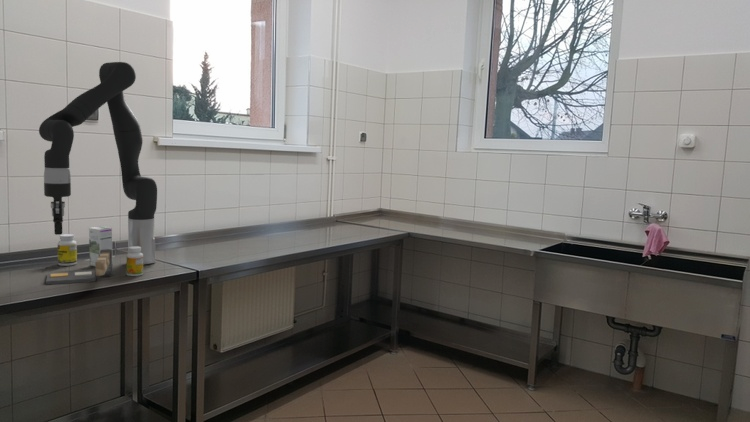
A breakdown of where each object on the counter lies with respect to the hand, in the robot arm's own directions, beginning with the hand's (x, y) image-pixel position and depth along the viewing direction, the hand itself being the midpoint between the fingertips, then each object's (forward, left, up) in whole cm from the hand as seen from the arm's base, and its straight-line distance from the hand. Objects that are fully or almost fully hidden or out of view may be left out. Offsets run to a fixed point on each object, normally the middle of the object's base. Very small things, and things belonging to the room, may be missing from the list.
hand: (58, 234), depth 179 cm
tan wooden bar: (-13, +9, -11) cm, 19 cm away
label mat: (-4, 0, -15) cm, 15 cm away
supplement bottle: (-23, +1, -15) cm, 28 cm away
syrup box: (-13, -17, -15) cm, 26 cm away
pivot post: (-14, 0, -15) cm, 21 cm away
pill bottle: (-2, -23, -15) cm, 28 cm away
